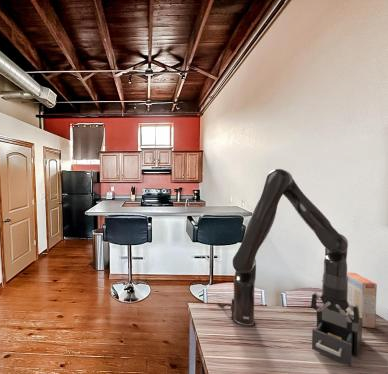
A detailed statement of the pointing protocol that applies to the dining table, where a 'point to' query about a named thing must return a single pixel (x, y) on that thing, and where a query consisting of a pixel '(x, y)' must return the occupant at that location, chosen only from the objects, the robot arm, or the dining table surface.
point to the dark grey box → (343, 326)
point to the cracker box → (362, 298)
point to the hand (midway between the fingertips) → (333, 325)
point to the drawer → (333, 342)
